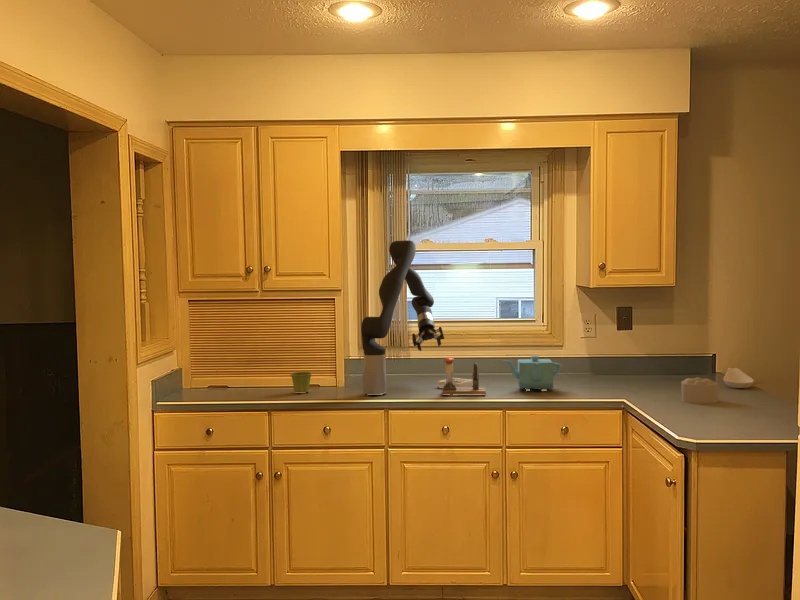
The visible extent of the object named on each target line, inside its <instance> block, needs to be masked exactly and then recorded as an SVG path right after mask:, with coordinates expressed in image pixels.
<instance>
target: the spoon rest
mask: <svg viewBox="0 0 800 600" xmlns="http://www.w3.org/2000/svg"><path fill="white" fill-rule="evenodd" d="M722 379H723V382H724V383H725V384H726V386H728V387H730V388H731V387H732V388H731V389H736V388H745V389H747V388H750V387H751V386H752V385H753V384H754V382H755V379H754V378H752V377H751V376H749V375H748V374H747V373H745V372H743V370H741V369H739V367H734V368H732V367H728V368H727V370H726V373H725V375H724V377H723V378H722Z"/></svg>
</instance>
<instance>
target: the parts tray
mask: <svg viewBox="0 0 800 600" xmlns="http://www.w3.org/2000/svg"><path fill="white" fill-rule="evenodd" d="M453 381H458V382H461V383H454V382H453V385H456V387H463V386H467V385H470V384H473V379H468V378H459V377H453ZM436 385H444V386H446V378H445V379H441V380H437V383H436Z"/></svg>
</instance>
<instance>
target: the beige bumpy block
mask: <svg viewBox="0 0 800 600" xmlns="http://www.w3.org/2000/svg"><path fill="white" fill-rule="evenodd" d="M680 389H681V402H682V401H683V403H686V402H691V403H690V404H705V403H706V404H717V403H718V402H719V383H718V382H717V381H713V380H712V379H710V378H701V377H699V376H697V377H695V378H694V377H693V378H692V377H689V378H685V379H684V380H682V381H681V388H680ZM716 402H717V403H716Z"/></svg>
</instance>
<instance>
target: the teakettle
mask: <svg viewBox="0 0 800 600" xmlns="http://www.w3.org/2000/svg"><path fill="white" fill-rule="evenodd" d="M503 362H505V363H507V364H508V365H509V368H510V372H511V374H512V376H513V377H514V378H515V379H517V384H518V387H519V388H520V389H523V388H526V389H531V388H532V389H539V388H540V390H541V389H547V390H548V389H554V376H556V375H558V373H560V372H561V370H562V369H563V368H562V367H563V365H562V364H561V363H559V362H553V361H552V360H551V359H549V358H543V359H541V358H539V356H538V355H531V356H530V358H529V359H528V358H527V359H523V358H522V359H517V368H516V367H515V365H514V363H513V361H512V360H506V359H505V360H504V359H503ZM554 366H556V368H555V370H554ZM532 389H531V390H532Z"/></svg>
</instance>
